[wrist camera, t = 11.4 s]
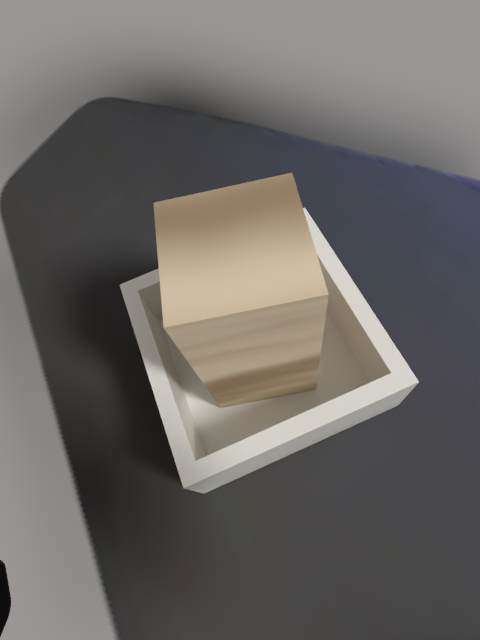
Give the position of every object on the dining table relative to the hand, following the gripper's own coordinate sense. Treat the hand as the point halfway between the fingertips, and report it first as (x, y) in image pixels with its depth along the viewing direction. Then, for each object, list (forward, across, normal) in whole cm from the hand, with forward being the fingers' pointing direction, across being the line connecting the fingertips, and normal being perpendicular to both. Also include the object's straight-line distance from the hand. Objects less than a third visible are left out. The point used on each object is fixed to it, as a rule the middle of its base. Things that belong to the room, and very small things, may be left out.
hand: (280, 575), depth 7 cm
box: (+16, -1, +2) cm, 16 cm away
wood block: (+16, 0, +1) cm, 16 cm away
